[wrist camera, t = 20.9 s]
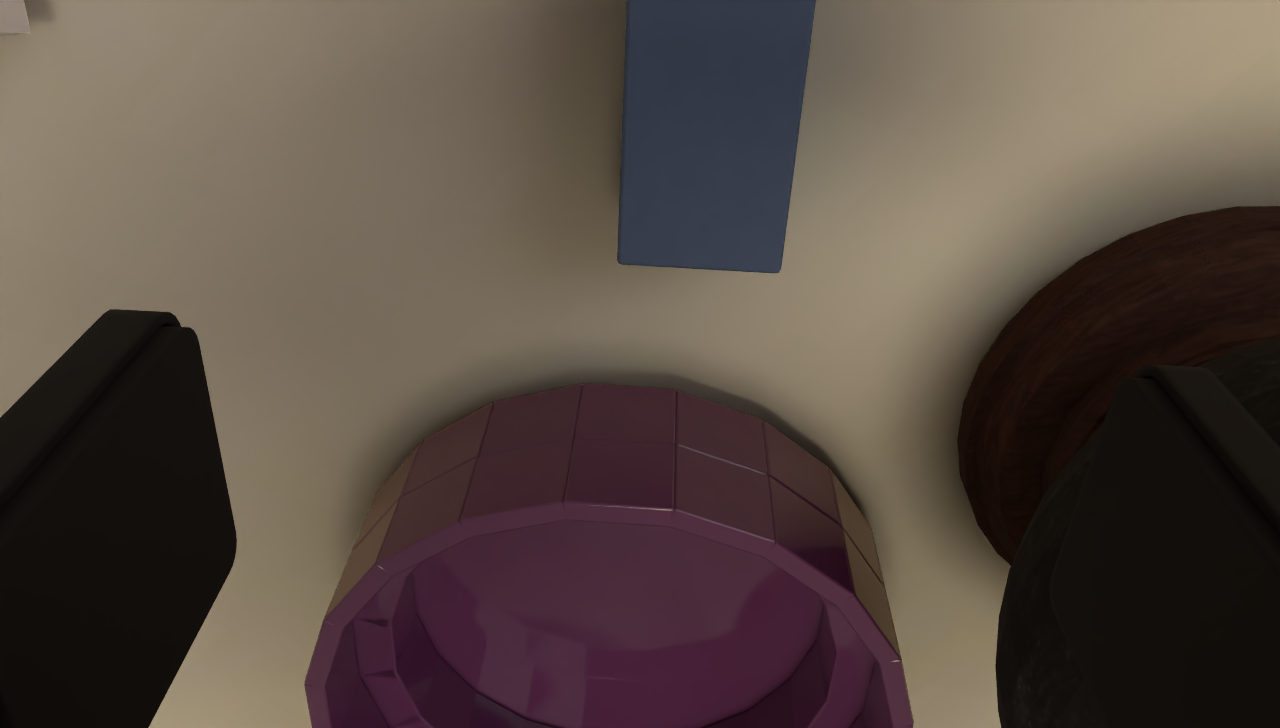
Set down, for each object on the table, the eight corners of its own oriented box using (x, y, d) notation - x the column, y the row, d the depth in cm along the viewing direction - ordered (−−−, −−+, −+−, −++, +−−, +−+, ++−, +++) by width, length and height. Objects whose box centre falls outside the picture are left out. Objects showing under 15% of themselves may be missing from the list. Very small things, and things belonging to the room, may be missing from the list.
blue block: (770, 217, 22) (780, 275, 20) (624, 209, 22) (616, 266, 20) (806, -79, 19) (823, -53, 17) (635, -89, 19) (628, -64, 17)
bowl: (386, 735, 32) (339, 889, 28) (340, 352, 25) (266, 482, 20) (833, 766, 32) (856, 925, 28) (922, 390, 24) (971, 528, 20)
